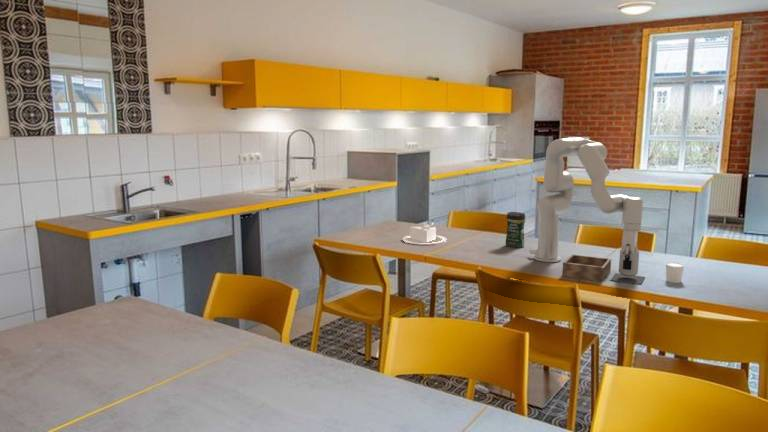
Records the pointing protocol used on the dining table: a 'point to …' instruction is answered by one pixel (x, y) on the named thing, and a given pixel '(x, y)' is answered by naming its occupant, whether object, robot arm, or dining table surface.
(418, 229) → the dish
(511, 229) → the coffee jar
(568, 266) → the crate
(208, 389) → the dining table surface
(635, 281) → the mat
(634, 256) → the can
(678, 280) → the shot glass
